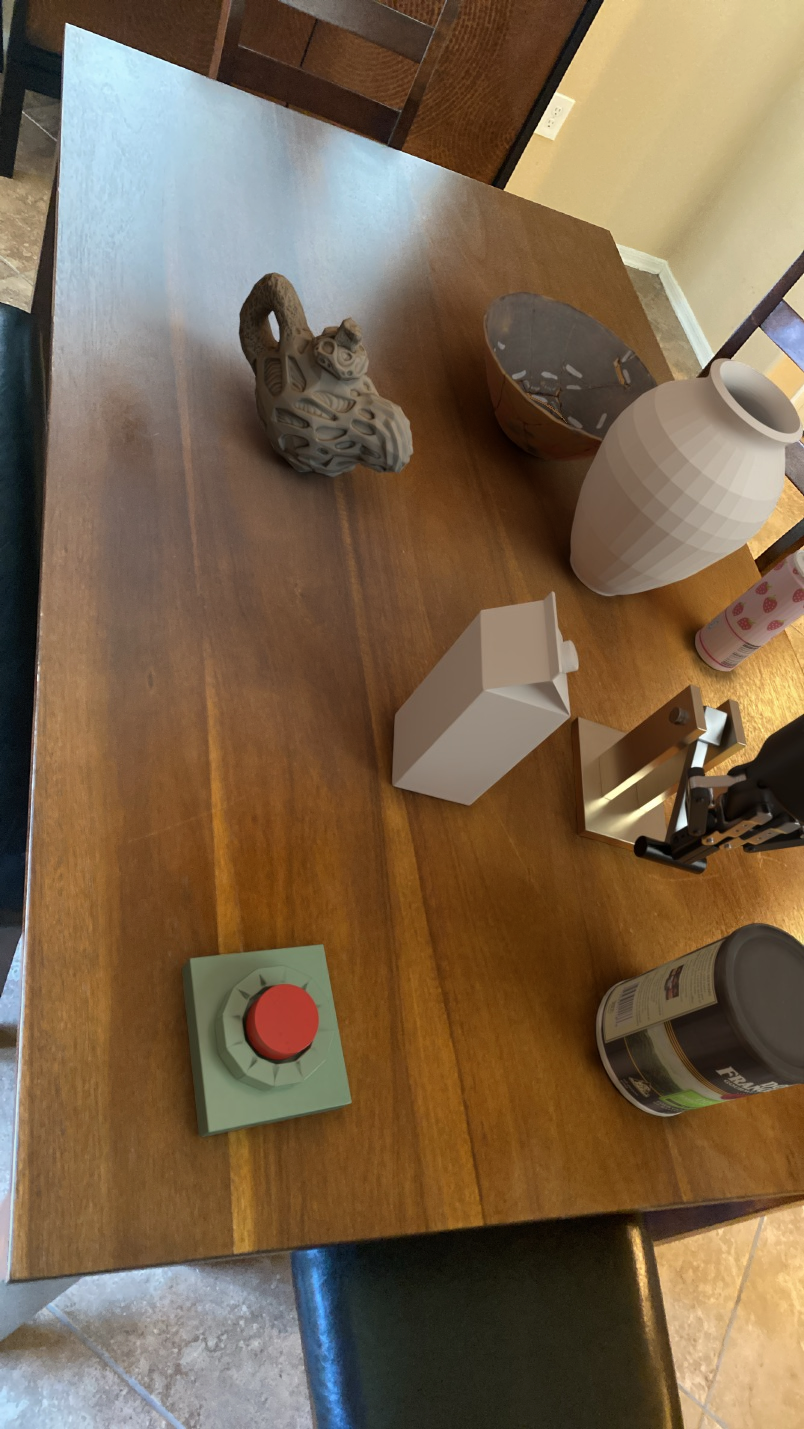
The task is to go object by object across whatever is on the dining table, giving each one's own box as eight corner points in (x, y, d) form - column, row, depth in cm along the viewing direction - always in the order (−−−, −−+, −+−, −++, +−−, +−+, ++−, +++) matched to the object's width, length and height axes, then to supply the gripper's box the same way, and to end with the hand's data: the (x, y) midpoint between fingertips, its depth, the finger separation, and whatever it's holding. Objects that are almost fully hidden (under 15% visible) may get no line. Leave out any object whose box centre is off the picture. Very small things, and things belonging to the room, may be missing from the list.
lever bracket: (661, 859, 78) (775, 793, 68) (577, 835, 76) (683, 761, 65) (647, 749, 85) (749, 673, 75) (570, 722, 83) (665, 640, 72)
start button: (314, 1054, 53) (324, 1047, 51) (250, 1065, 51) (259, 1058, 49) (303, 987, 54) (312, 980, 53) (241, 995, 52) (249, 988, 51)
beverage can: (706, 624, 101) (806, 540, 90) (740, 661, 100) (845, 581, 89) (684, 641, 97) (785, 556, 86) (719, 680, 96) (826, 599, 85)
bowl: (546, 357, 118) (590, 293, 110) (650, 494, 111) (704, 436, 103) (405, 357, 103) (444, 283, 95) (515, 517, 96) (566, 451, 88)
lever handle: (687, 872, 72) (706, 877, 70) (628, 854, 71) (646, 859, 68) (726, 719, 74) (746, 719, 71) (669, 698, 72) (687, 698, 70)
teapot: (405, 497, 89) (476, 381, 78) (339, 542, 82) (408, 420, 70) (256, 360, 90) (304, 226, 79) (177, 391, 83) (218, 248, 71)
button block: (339, 1109, 55) (363, 1098, 52) (198, 1138, 51) (216, 1128, 48) (312, 953, 60) (333, 935, 57) (181, 967, 55) (196, 949, 52)
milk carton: (390, 787, 70) (513, 656, 55) (393, 714, 74) (509, 574, 59) (468, 807, 72) (606, 686, 58) (467, 735, 76) (595, 606, 62)
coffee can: (715, 1119, 67) (867, 1086, 56) (606, 1114, 63) (746, 1078, 52) (687, 984, 72) (820, 930, 62) (585, 972, 69) (708, 913, 58)
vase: (577, 644, 89) (755, 469, 70) (502, 511, 95) (647, 318, 76) (687, 627, 99) (868, 471, 80) (612, 508, 105) (764, 336, 86)
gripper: (787, 772, 52) (613, 875, 65) (943, 827, 56) (750, 914, 70) (766, 674, 57) (606, 789, 70) (911, 732, 61) (735, 831, 74)
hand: (678, 851), depth 70 cm, fingers closed
